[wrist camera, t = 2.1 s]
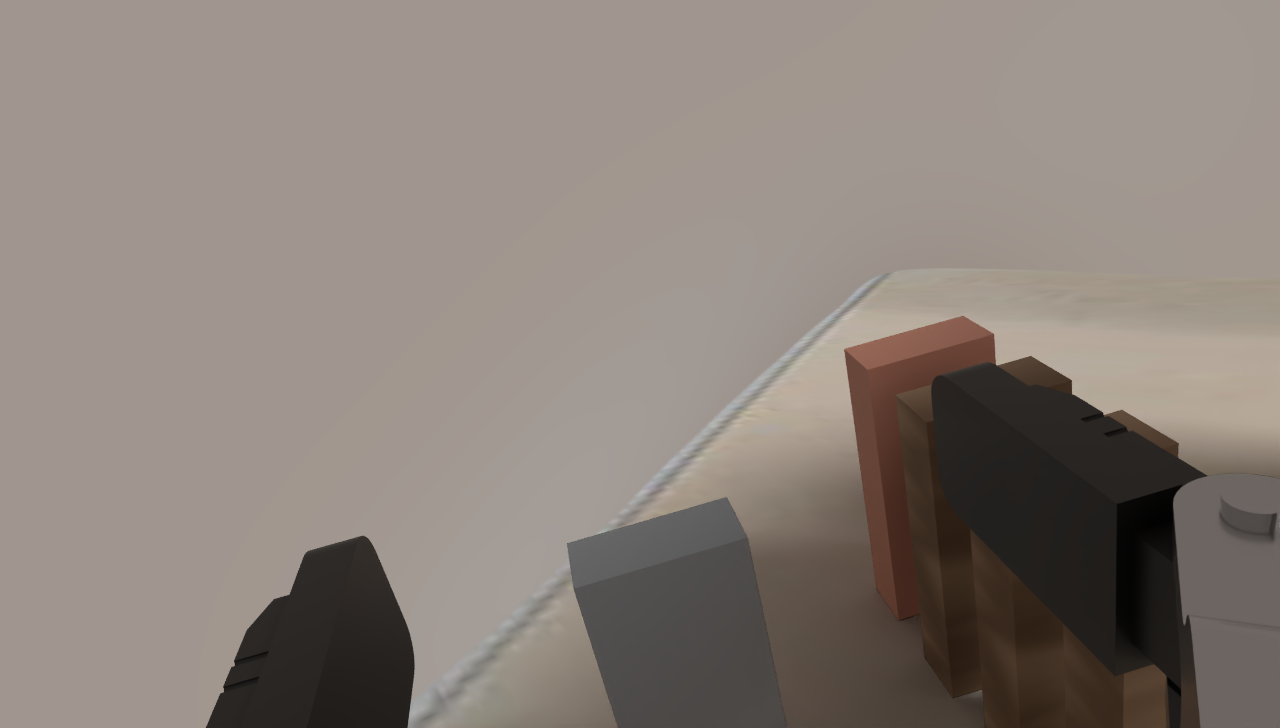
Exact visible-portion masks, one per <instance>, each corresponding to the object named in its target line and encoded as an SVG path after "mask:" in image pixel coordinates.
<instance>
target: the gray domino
mask: <svg viewBox="0 0 1280 728" xmlns="http://www.w3.org/2000/svg"><path fill="white" fill-rule="evenodd" d="M567 546H568V553H569V560H570V567H571V574H572V581H573V588H574V591H575V594H576V598H577V601H578V604H579V607H580V610H581V613H582V616H583V619H584V623H585V626H586V629H587V632H588V635H589V638H590V641H591V644H592V648H593V651H594V654H595V657H596V660H597V663H598V666H599V669H600V673H601V676H602V679H603V682H604V685H605V688H606V691H607V694H608V698H609V701H610V704H611V707H612V710H613V713H614V716H615V719H616V723H617V726H618V728H787V725H786V721H785V716H784V711H783V706H782V701H781V696H780V692H779V687H778V682H777V677H776V672H775V668H774V663H773V658H772V653H771V648H770V644H769V639H768V634H767V629H766V624H765V620H764V615H763V610H762V605H761V600H760V595H759V591H758V586H757V581H756V576H755V571H754V567H753V562H752V557H751V552H750V547H749V543H748V538H747V536H746V534H745V532H744V530H743V528H742V526H741V524H740V522H739V520H738V518H737V516H736V514H735V512H734V510H733V508H732V506H731V504H730V502H729V500H728V498H727V497H726V498H722V499H719V500H715V501H712V502H708V503H705V504H702V505H698V506H695V507H691V508H688V509H684V510H681V511H677V512H674V513H670V514H667V515H664V516H660V517H657V518H653V519H650V520H646V521H643V522H639V523H636V524H633V525H629V526H626V527H622V528H619V529H615V530H612V531H608V532H605V533H601V534H598V535H595V536H591V537H588V538H584V539H581V540H577V541H574V542H570V543H567Z"/></svg>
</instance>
